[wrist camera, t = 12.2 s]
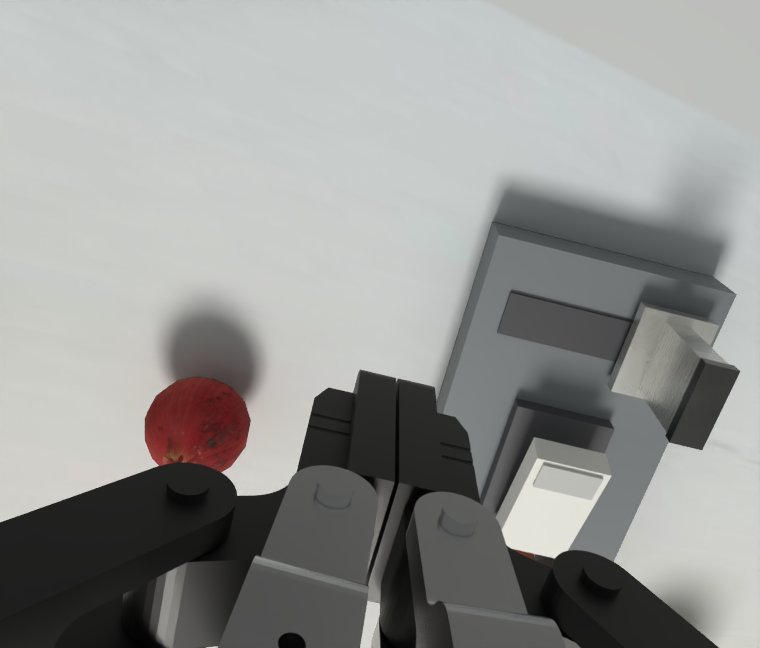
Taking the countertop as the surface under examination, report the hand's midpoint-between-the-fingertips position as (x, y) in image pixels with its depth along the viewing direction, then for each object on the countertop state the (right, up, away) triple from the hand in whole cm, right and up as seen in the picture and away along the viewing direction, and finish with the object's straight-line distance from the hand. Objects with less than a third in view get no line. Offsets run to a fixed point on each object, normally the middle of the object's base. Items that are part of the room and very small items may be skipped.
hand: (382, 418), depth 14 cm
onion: (-10, -3, +30) cm, 32 cm away
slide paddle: (+15, 0, +24) cm, 28 cm away
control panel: (+10, -6, +30) cm, 32 cm away
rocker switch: (+9, -8, +25) cm, 27 cm away
